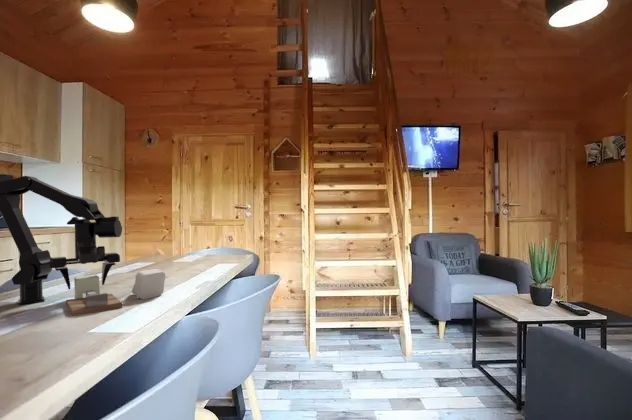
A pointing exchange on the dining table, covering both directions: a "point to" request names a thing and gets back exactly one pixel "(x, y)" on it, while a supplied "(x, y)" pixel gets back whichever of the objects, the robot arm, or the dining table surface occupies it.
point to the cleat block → (86, 285)
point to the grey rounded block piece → (149, 283)
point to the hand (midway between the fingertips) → (86, 286)
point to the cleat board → (93, 303)
